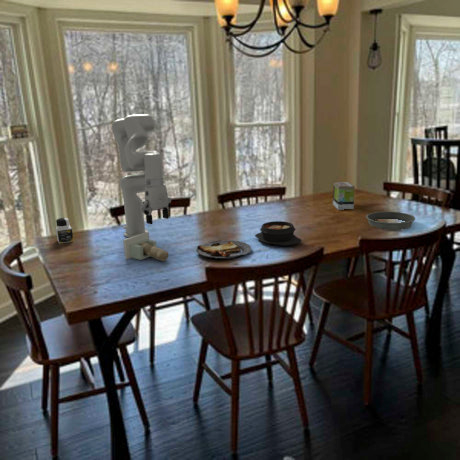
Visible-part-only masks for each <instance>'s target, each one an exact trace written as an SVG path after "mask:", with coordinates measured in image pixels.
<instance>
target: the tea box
mask: <svg viewBox="0 0 460 460" xmlns="http://www.w3.org/2000/svg"><path fill="white" fill-rule="evenodd" d="M355 188H356V187H355V185H354V184H353V183H351V182H349V181H340V182H339V181H338V182H333V193H332V205H333V206H334V208H335V209H337V211H345V210H344V209H353V210H354V208H355V207H354V206H355Z"/></svg>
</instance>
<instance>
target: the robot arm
mask: <svg viewBox="0 0 460 460" xmlns="http://www.w3.org/2000/svg"><path fill="white" fill-rule="evenodd" d="M155 128H156V123H155V119H154V118H153V116H152V115H150V114H149V113H148V114H147V113H146V114H145V113H144V114H130V115H126V116H125V117H124V118H119V119H116V120H114V121H113V122H112V123H111V130H112V134H113V137H114V139H115V141H116V143H117V146H118V148H117V149H118V154H119V155H118V156H119V161H120V162H119V164H120V168H121V170H122V172H124V173H137V174H129V175H126V176H125V175H124V176H123V177H121V179H120V181H119V186H120V191H121V194H122V198H123V207H124V215H125V225H124V226H123V227H122V228H123V230H125V232H124V233H123V235H124V237H126V238H130V237H133V236H136V235H139V234H142V233H145V232H149V230H147V229H146V227H145V226H146V224H147V225H148V224H149V225H153V223H154V222H153V215H152V213H153V211H156V210H161V209H162V210H161V212H162V218H163V219H166V220H168V219H169V218H170V217H169V214H170V213H169V209H170V206H171V205H172V204H171V202H172V198H171V197H169V195H168V190H167V186H166V184H165V182H164V170H163V156H162V154H161V153H159V151H158V150H154V149H153V150H140V151H137V150H139V149H140V148H143V147H144V146H146V145H147V143H148V142H149V135H150V134H152V133H153V132H154V131H155ZM138 172H139V173H138ZM140 172H143V173H140ZM139 193H140V194H141V193H144V202H143V200H142V198H141V197H140V196H139V195H138V194H139ZM144 215H145V216H144ZM145 220H146V221H145ZM145 222H146V224H145Z"/></svg>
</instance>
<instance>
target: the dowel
mask: <svg viewBox="0 0 460 460" xmlns="http://www.w3.org/2000/svg"><path fill="white" fill-rule="evenodd" d="M140 246H143V253H144V254H146V255H149V256H150V258H151V257H152V258H153V259H156V260H159V261H160V262H166V261H167V260H168V258H169V251H167V250H164V249H163V248H160V247H157V246H156V247H155V246H153V245H150V244H148V243H145V242H142V243H140Z"/></svg>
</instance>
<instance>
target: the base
mask: <svg viewBox="0 0 460 460" xmlns="http://www.w3.org/2000/svg"><path fill="white" fill-rule="evenodd" d="M145 239H148V240H150V233H149V231H148V232H145V233H142V234H139V235H136V236H133V237H126V238H124V239H123V243H122V244H123V250H124V251H123V253H124V258H125V260H129V259H132V258H131V253H130V245H131V244H133V243H136V242H139V241H142V240H145Z"/></svg>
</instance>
